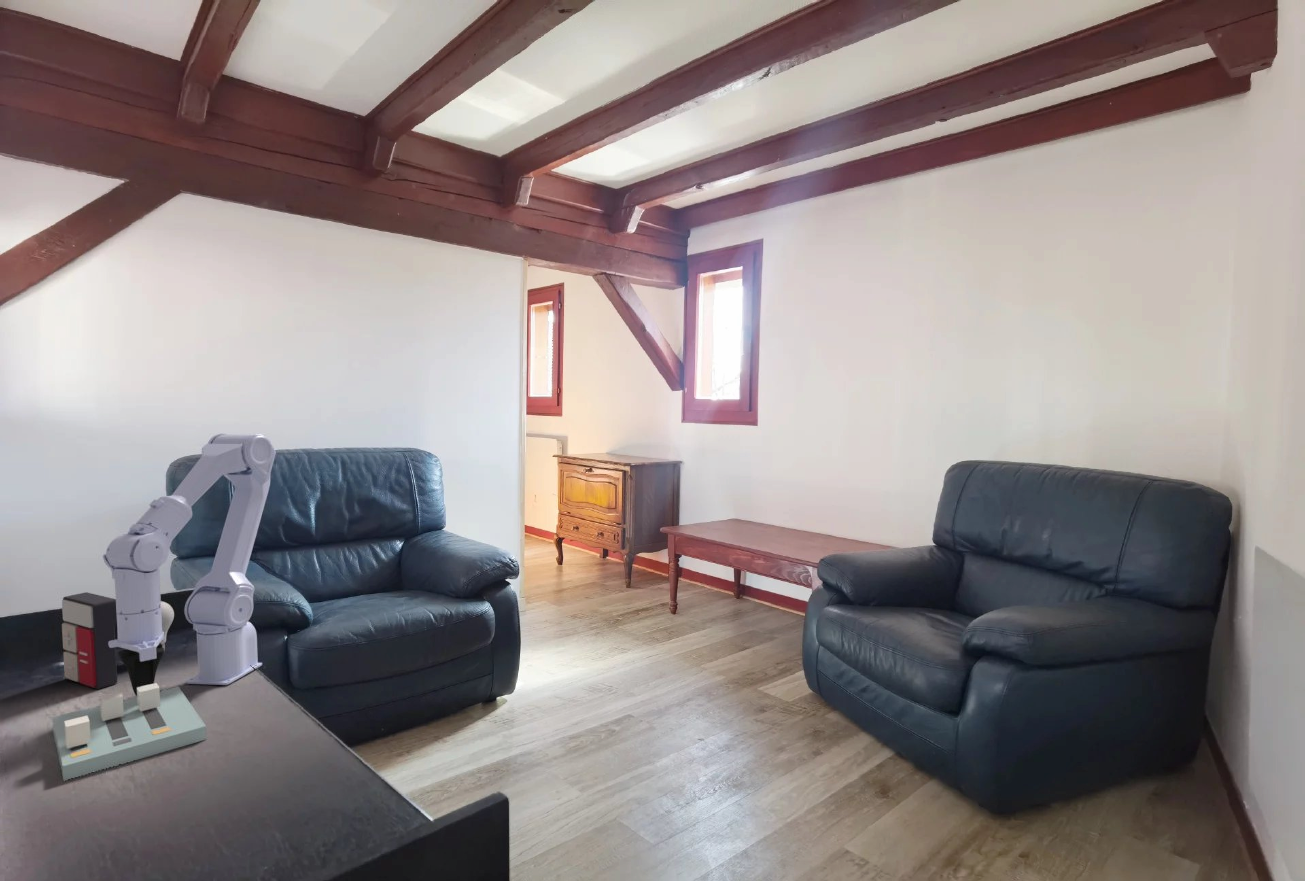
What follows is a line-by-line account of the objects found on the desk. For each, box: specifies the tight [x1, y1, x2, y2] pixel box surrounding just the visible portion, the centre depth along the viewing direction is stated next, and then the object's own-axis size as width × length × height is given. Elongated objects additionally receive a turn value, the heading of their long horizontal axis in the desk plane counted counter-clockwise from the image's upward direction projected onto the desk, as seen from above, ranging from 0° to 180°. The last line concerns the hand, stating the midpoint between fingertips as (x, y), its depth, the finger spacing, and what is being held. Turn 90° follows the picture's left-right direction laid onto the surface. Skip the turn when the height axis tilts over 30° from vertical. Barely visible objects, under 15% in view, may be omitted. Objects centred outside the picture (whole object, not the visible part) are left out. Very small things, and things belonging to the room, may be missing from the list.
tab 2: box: [99, 690, 124, 721], centre depth 104 cm, size 2×2×3 cm
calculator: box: [61, 591, 118, 690], centre depth 123 cm, size 11×4×15 cm, turn 62°
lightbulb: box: [160, 600, 175, 653], centre depth 135 cm, size 6×6×11 cm
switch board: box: [51, 686, 208, 782], centre depth 103 cm, size 20×16×2 cm
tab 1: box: [64, 715, 91, 749], centre depth 96 cm, size 2×2×3 cm
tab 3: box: [136, 682, 160, 712], centre depth 107 cm, size 2×2×3 cm
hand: (143, 693), depth 111 cm, fingers closed
